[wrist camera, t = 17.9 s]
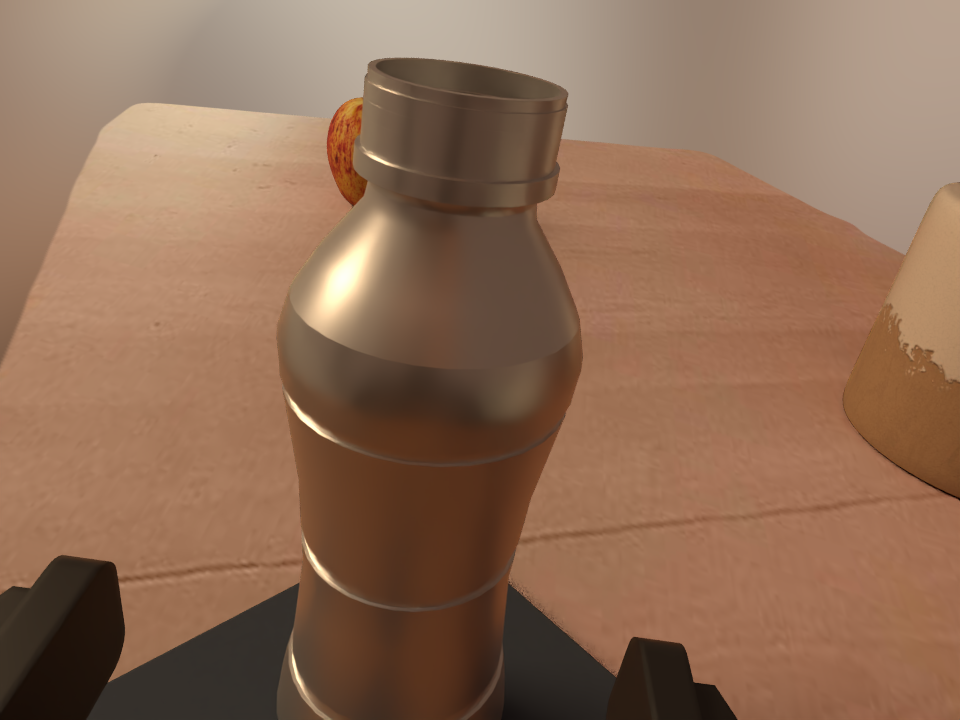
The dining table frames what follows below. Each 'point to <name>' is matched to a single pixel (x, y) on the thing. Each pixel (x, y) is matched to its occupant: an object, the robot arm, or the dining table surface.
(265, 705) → the mat
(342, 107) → the apple
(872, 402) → the vase
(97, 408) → the dining table surface
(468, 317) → the silver metal bottle
